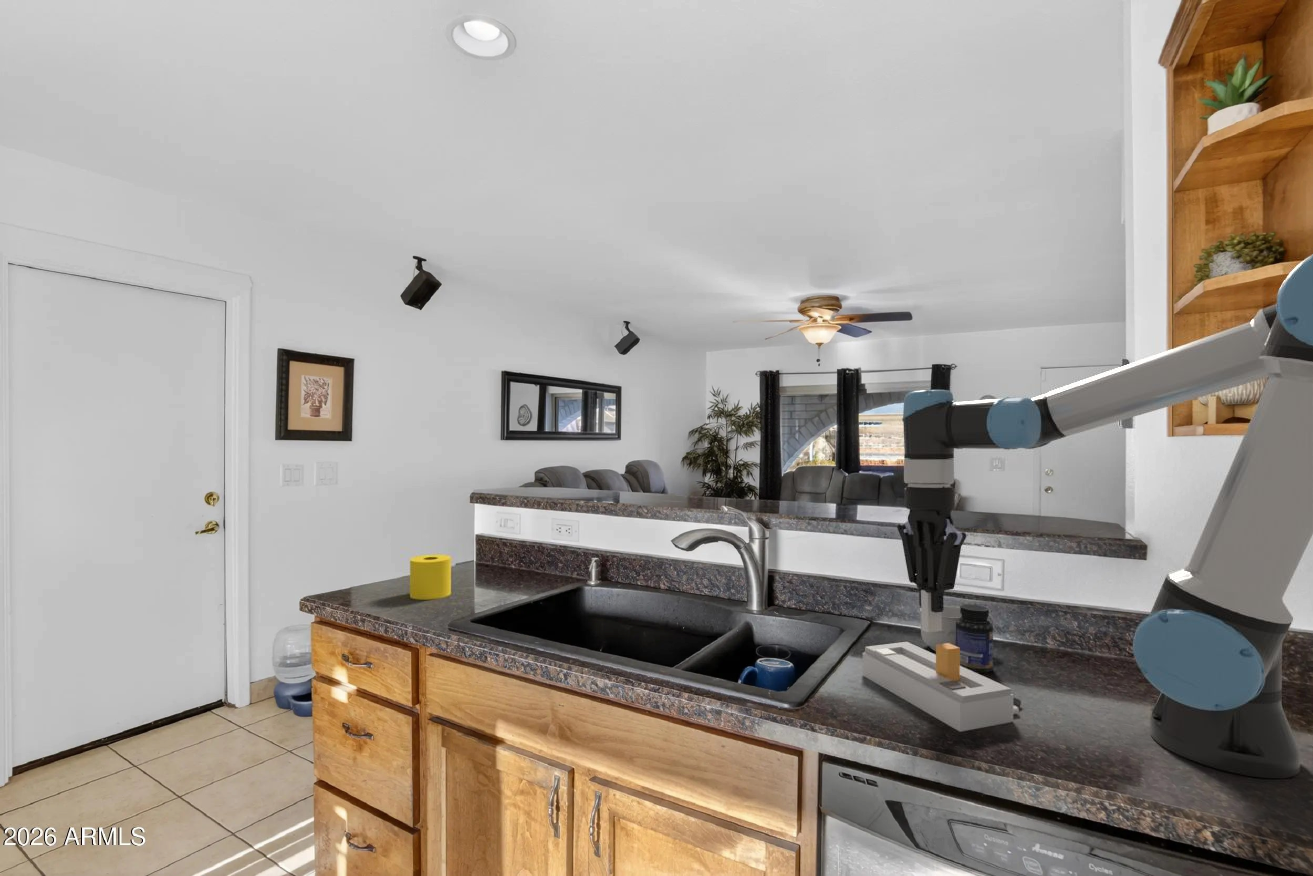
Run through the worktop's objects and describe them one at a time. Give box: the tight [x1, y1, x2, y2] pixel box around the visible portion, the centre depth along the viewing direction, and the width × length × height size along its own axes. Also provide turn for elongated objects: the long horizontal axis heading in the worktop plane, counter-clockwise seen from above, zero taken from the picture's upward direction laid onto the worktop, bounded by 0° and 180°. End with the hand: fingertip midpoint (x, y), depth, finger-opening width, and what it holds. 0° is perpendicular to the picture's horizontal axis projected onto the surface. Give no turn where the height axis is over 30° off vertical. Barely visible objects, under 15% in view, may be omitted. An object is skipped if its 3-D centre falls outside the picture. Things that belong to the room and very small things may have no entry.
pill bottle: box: [956, 603, 994, 674], centre depth 115 cm, size 6×6×11 cm
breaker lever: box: [935, 643, 960, 681], centre depth 99 cm, size 2×2×5 cm
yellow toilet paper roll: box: [409, 554, 452, 601], centre depth 164 cm, size 10×10×9 cm
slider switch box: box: [862, 641, 1014, 732], centre depth 102 cm, size 22×10×5 cm, turn 19°
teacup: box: [919, 605, 996, 652], centre depth 124 cm, size 14×11×8 cm
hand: (931, 630), depth 102 cm, fingers closed
